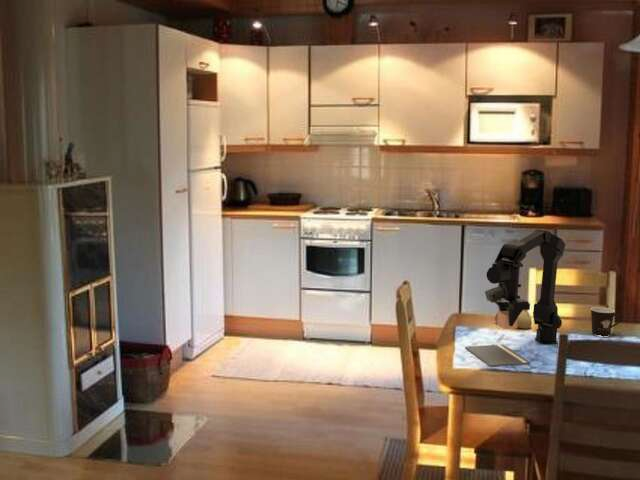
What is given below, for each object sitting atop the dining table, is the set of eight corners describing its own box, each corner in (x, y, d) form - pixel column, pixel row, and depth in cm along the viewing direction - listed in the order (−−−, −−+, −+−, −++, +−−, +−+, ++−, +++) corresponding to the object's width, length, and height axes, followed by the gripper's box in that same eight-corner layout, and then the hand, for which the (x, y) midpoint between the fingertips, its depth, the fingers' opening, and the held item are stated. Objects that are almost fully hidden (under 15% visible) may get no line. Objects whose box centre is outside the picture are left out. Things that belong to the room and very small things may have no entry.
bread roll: (499, 320, 302) (500, 301, 301) (535, 326, 294) (536, 307, 293) (491, 325, 294) (492, 306, 293) (527, 331, 286) (528, 312, 285)
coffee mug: (588, 336, 281) (590, 311, 279) (589, 330, 289) (591, 306, 287) (621, 340, 276) (623, 314, 275) (621, 334, 284) (623, 309, 283)
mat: (502, 345, 267) (502, 344, 267) (530, 363, 248) (530, 361, 248) (465, 348, 264) (465, 346, 264) (490, 366, 245) (490, 364, 244)
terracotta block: (510, 324, 257) (510, 310, 257) (517, 328, 253) (518, 314, 252) (497, 325, 256) (498, 311, 255) (504, 328, 251) (505, 314, 251)
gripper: (476, 275, 259) (474, 317, 261) (502, 286, 241) (499, 332, 243) (505, 274, 262) (502, 316, 264) (532, 285, 244) (528, 330, 246)
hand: (507, 323), depth 254 cm, fingers closed on terracotta block, 5 cm apart
